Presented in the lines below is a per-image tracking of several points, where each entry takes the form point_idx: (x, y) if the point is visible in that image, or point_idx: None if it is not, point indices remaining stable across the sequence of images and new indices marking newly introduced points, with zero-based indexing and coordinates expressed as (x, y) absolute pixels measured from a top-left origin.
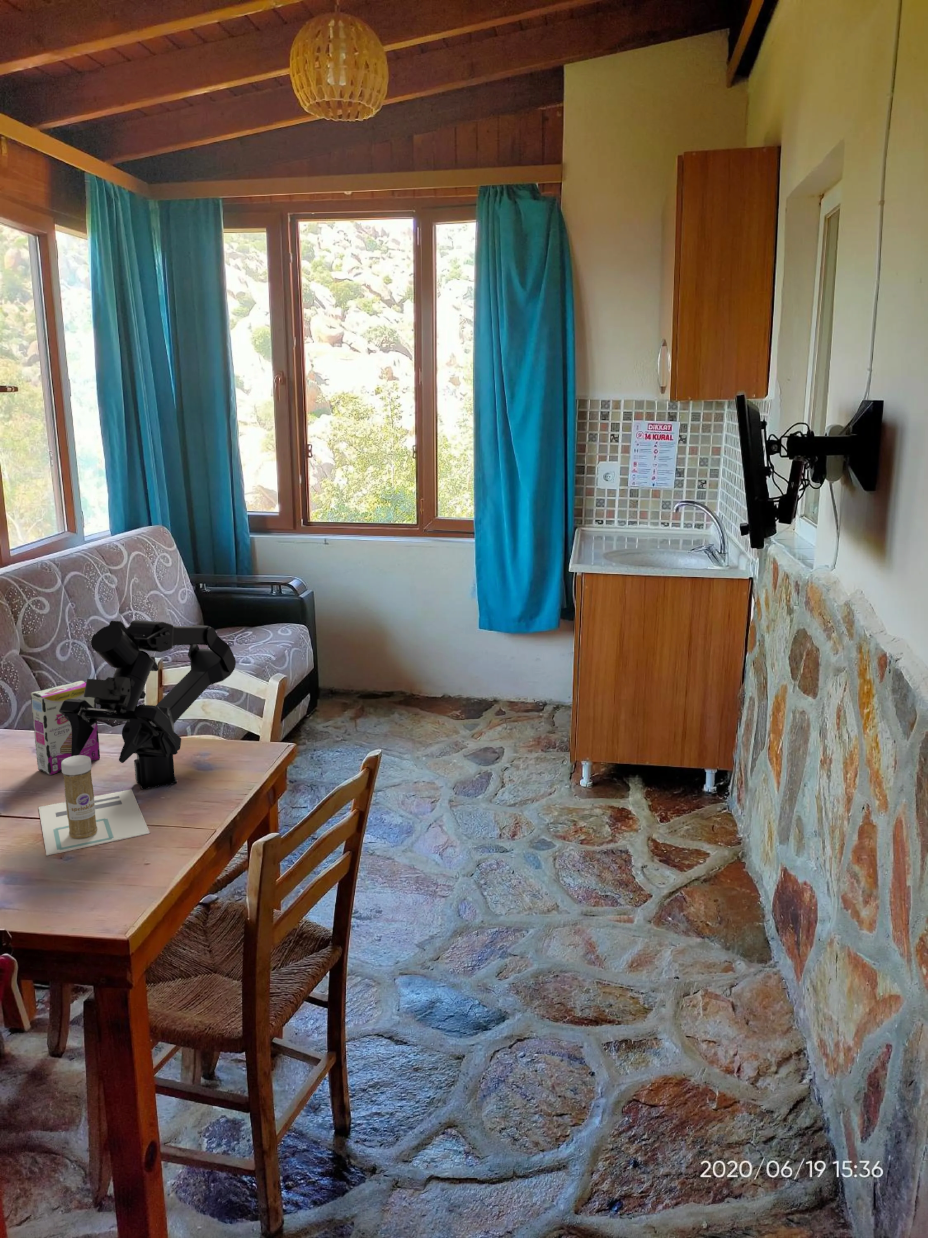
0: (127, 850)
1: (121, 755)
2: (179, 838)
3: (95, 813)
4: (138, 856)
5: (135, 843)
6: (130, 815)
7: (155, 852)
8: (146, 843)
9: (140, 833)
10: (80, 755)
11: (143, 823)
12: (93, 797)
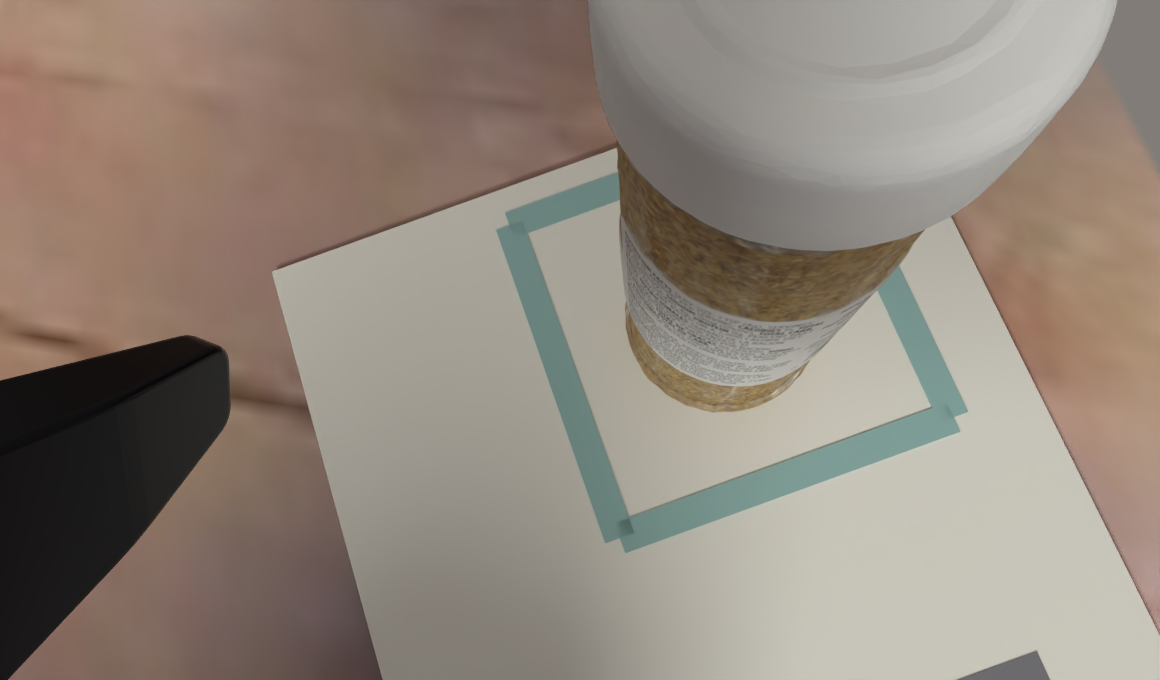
0: (386, 77)
1: (133, 364)
2: (91, 189)
3: (725, 664)
4: (313, 2)
5: (351, 157)
6: (440, 577)
7: (222, 37)
8: (284, 149)
9: (330, 269)
10: (838, 135)
11: (327, 420)
12: (620, 231)
